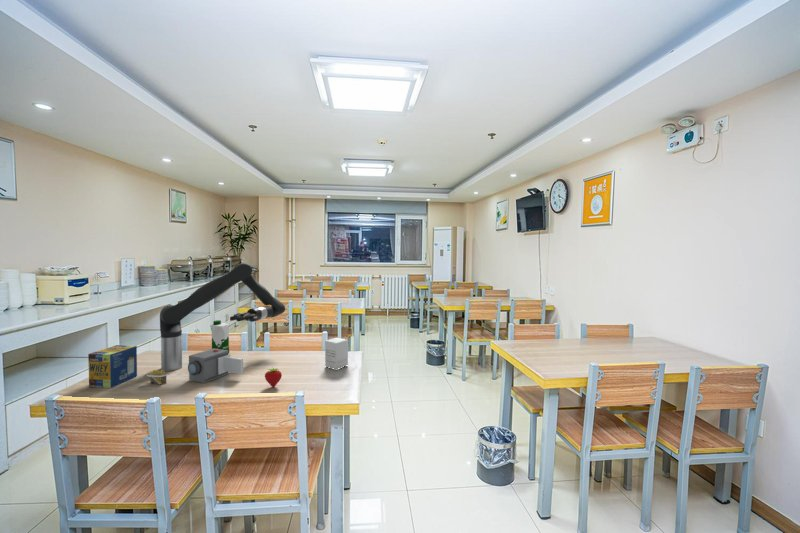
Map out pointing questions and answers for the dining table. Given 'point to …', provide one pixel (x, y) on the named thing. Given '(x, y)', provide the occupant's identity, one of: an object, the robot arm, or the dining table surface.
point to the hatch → (230, 364)
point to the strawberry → (273, 376)
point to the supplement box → (336, 353)
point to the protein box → (112, 366)
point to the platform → (157, 376)
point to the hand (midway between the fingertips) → (233, 319)
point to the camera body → (205, 365)
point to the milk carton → (220, 335)
